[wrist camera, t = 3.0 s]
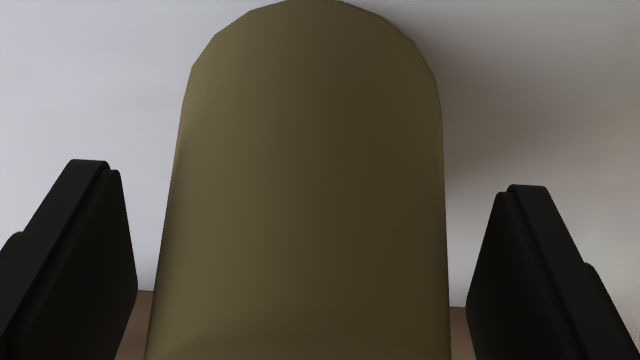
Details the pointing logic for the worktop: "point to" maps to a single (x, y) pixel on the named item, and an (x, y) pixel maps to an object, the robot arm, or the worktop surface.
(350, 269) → the olive piece
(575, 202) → the worktop surface
